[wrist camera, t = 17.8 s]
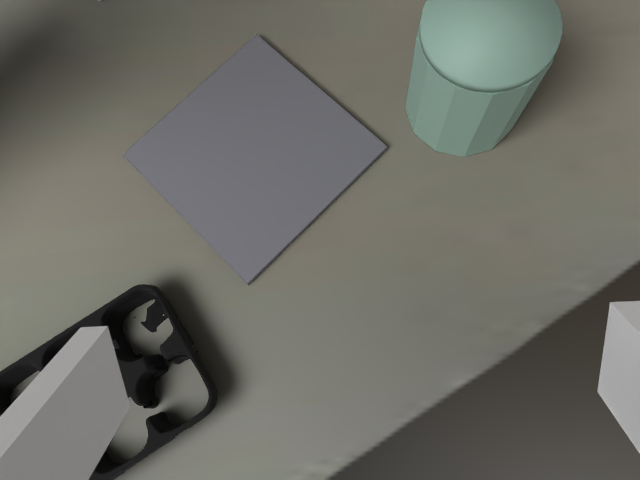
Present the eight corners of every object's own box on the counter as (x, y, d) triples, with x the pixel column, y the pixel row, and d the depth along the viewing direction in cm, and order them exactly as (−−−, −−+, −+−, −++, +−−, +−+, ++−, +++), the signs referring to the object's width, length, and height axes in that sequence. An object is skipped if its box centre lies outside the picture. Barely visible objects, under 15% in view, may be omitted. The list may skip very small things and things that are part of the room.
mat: (124, 157, 50) (122, 155, 50) (257, 37, 52) (256, 34, 52) (248, 285, 46) (247, 283, 46) (387, 149, 48) (387, 146, 48)
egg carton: (-134, 483, 45) (-178, 493, 41) (124, 243, 49) (105, 233, 45) (-24, 655, 41) (-61, 683, 37) (249, 380, 45) (239, 381, 41)
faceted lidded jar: (385, 109, 49) (392, 28, 38) (455, 41, 51) (483, -58, 39) (465, 176, 47) (498, 112, 35) (537, 103, 48) (592, 18, 37)
